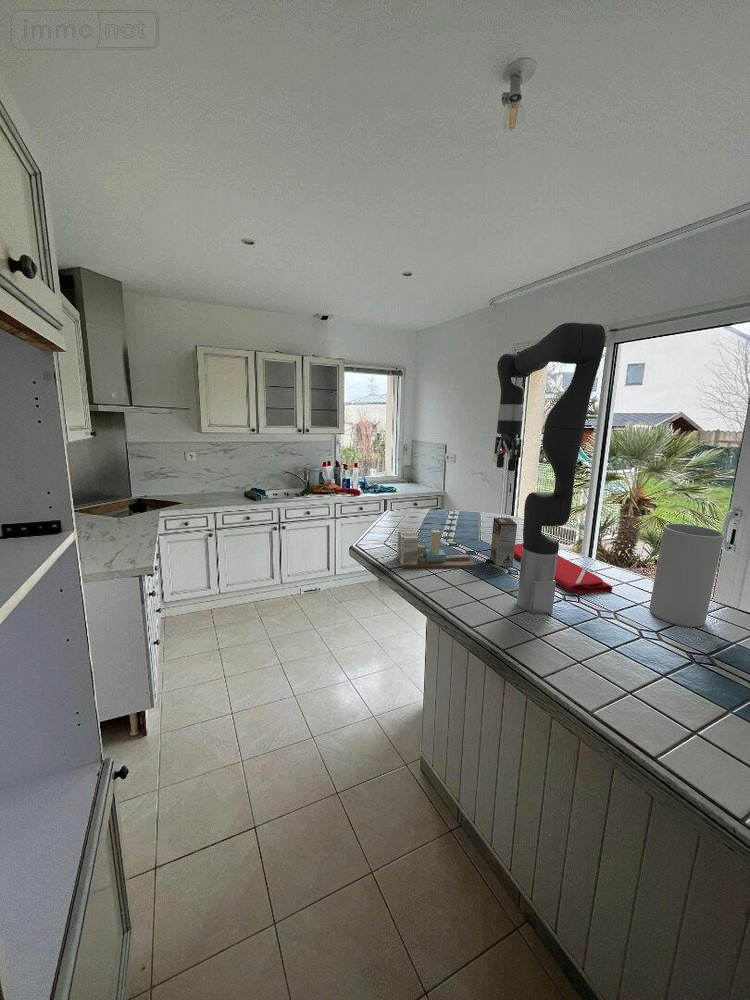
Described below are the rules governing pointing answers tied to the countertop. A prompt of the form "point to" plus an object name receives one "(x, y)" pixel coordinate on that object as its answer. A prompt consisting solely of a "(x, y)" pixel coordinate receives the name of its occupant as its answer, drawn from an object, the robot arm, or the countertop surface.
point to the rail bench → (412, 560)
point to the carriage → (433, 548)
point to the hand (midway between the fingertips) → (505, 469)
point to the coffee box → (503, 541)
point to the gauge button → (419, 549)
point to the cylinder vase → (685, 574)
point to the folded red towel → (573, 576)
